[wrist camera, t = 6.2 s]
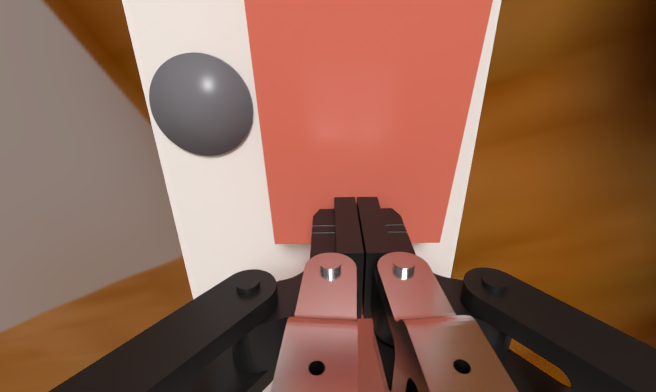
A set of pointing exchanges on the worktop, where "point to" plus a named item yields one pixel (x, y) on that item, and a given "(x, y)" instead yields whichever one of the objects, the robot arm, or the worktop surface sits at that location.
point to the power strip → (239, 140)
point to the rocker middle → (363, 104)
